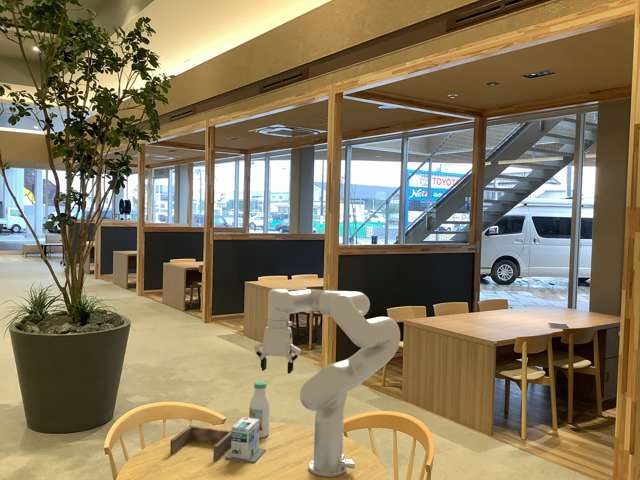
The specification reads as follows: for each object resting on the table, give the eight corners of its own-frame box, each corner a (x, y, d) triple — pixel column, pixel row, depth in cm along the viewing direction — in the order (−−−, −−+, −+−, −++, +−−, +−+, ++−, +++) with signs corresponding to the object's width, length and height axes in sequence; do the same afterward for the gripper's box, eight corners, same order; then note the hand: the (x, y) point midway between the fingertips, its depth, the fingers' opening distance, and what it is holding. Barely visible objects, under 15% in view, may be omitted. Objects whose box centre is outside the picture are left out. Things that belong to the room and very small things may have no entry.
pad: (265, 450, 209) (265, 448, 209) (254, 463, 198) (254, 461, 198) (236, 446, 212) (236, 444, 212) (224, 458, 201) (224, 457, 201)
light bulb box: (248, 460, 199) (249, 429, 198) (230, 457, 201) (230, 426, 200) (259, 448, 209) (260, 418, 209) (241, 445, 211) (242, 416, 211)
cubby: (233, 444, 213) (233, 431, 213) (216, 461, 199) (217, 446, 199) (189, 438, 218) (190, 425, 217) (170, 454, 203) (170, 440, 203)
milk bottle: (261, 429, 229) (263, 378, 228) (273, 435, 223) (274, 383, 222) (244, 433, 224) (246, 381, 223) (256, 439, 218) (257, 387, 218)
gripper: (304, 323, 210) (302, 371, 211) (258, 320, 214) (257, 366, 215) (298, 327, 203) (297, 376, 204) (251, 323, 207) (250, 371, 208)
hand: (276, 371), depth 209 cm, fingers open, 9 cm apart
